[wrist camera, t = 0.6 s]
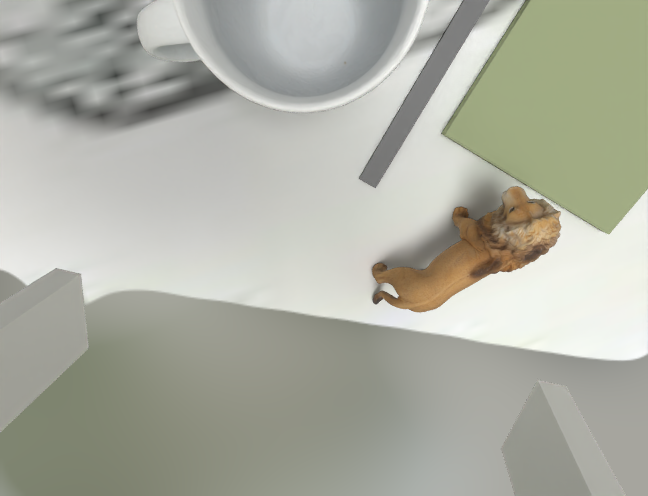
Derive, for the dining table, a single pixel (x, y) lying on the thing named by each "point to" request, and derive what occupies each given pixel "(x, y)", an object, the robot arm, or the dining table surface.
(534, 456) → the robot arm
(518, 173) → the mat
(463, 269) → the lion figurine
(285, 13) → the mug
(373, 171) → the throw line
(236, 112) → the dining table surface
